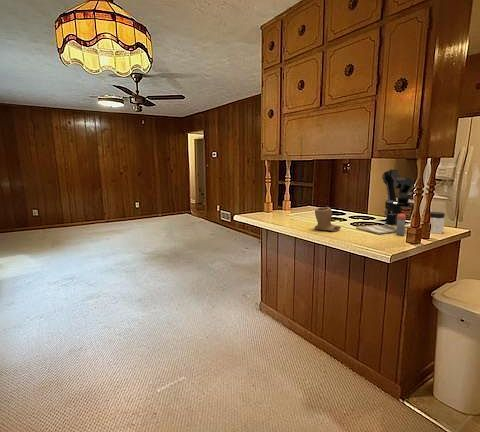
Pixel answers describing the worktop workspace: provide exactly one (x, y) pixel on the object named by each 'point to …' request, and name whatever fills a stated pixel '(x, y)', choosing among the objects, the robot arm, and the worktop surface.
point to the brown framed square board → (378, 229)
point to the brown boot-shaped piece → (325, 219)
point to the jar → (437, 222)
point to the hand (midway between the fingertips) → (401, 216)
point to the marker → (400, 224)
